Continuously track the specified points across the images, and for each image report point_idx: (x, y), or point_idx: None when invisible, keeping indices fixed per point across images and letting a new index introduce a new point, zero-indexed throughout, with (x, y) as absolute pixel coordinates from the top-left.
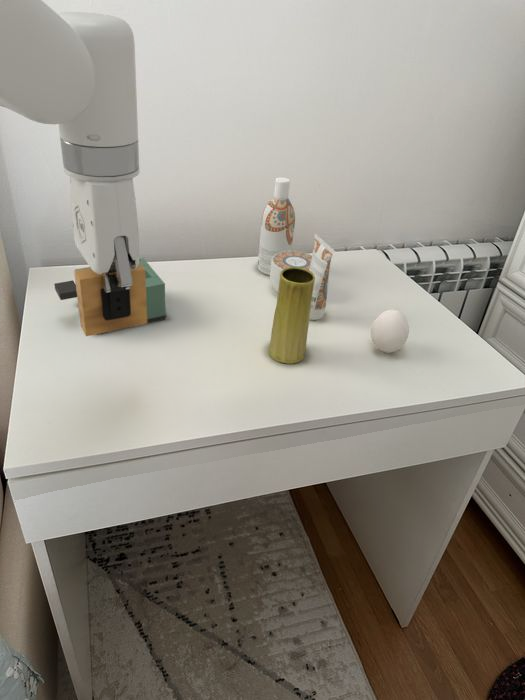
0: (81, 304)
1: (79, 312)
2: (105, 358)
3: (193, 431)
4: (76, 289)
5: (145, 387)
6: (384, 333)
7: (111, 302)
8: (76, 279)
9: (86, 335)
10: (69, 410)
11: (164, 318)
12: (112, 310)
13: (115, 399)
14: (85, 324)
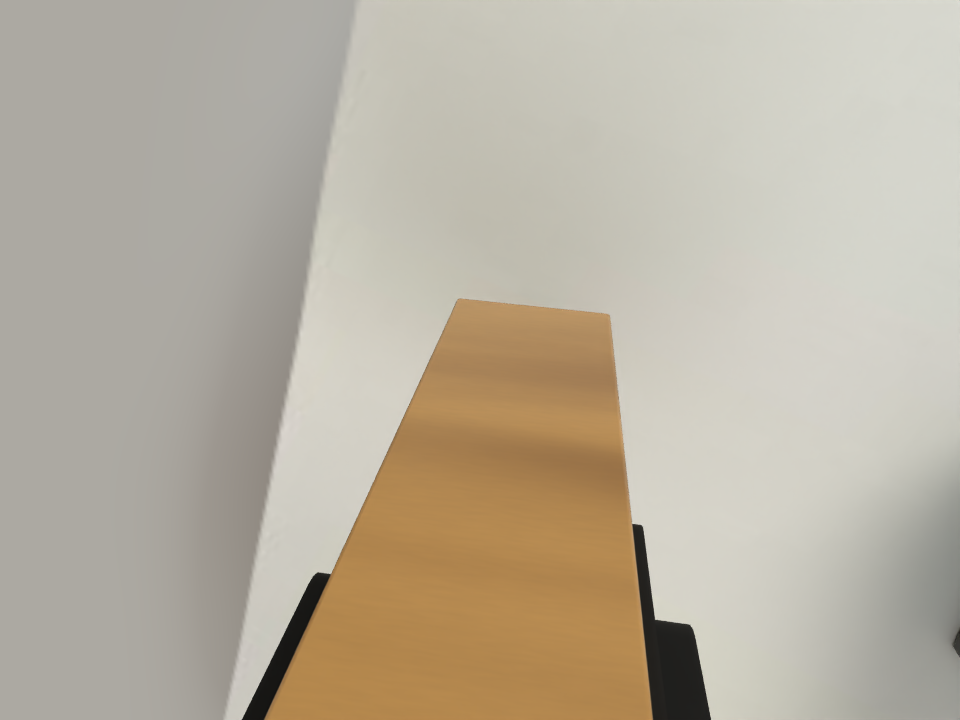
0: (444, 437)
1: (593, 371)
2: (868, 344)
3: (305, 419)
4: (620, 522)
5: None
6: None
7: (273, 665)
8: (534, 660)
9: (457, 304)
10: (624, 81)
11: (956, 645)
12: (303, 600)
13: (587, 272)
14: (438, 345)
